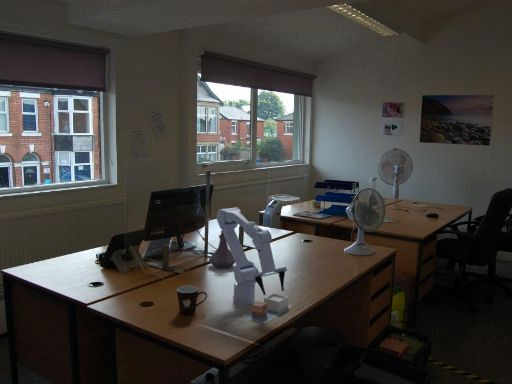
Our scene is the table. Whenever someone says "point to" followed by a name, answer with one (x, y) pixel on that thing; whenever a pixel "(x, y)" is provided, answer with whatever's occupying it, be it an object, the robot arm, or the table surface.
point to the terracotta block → (259, 309)
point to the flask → (222, 255)
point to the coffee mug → (188, 299)
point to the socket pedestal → (276, 302)
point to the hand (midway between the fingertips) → (273, 292)
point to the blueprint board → (266, 318)
